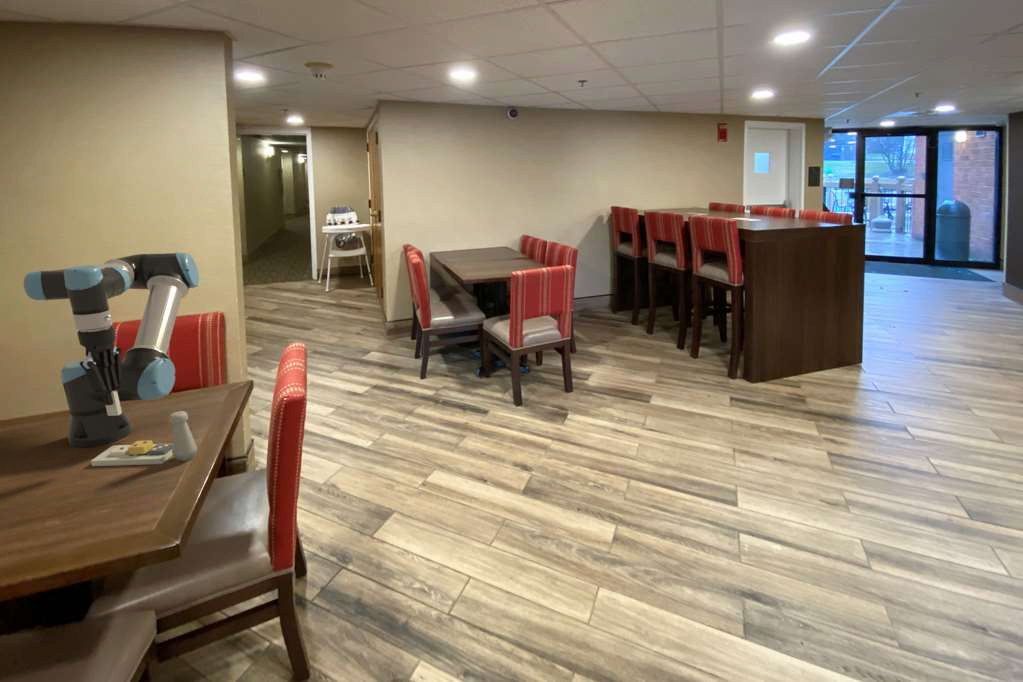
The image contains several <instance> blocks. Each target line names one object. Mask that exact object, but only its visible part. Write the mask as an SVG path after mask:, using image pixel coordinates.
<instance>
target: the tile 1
mask: <svg viewBox="0 0 1023 682" xmlns="http://www.w3.org/2000/svg"><path fill="white" fill-rule="evenodd" d="M120 445H121V446H118V447H116V448H115V449H114V450H112V451H111V452H110V456H111V457H113V456H127V455H128V454H129V449H128V447H130V446H131V445H132V444H120Z"/></svg>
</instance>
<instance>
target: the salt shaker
mask: <svg viewBox="0 0 1023 682" xmlns="http://www.w3.org/2000/svg"><path fill="white" fill-rule="evenodd" d="M168 420H169V423H170V424H172V442H171V444H172V453H173V455H172V456H173V457H174V458H175V459H176V461H177V462H188V461H191V460H192V459H194V458H195V457H196V454H197V450H198V447H197V444H196V441H195V439H194V437H193V434H192V432H191V429H190V427H189V424H188V420H189V415H188V413H187V412H186V411H183V410H180V411H174V412H172V413H170V414H169V416H168Z"/></svg>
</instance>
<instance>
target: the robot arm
mask: <svg viewBox="0 0 1023 682" xmlns="http://www.w3.org/2000/svg"><path fill="white" fill-rule="evenodd" d="M199 277H200V276H199V270H198V266H197V264H196V261H195V259H194V258H193V256H192V255H190V254H189V253H188V252H187V253H186V252H178V251H177V252H173V253H171V252H169V253H140V254H132V255H128V256H122V257H117V258H113V259H109V260H106V261H105V262H104V263H99V264H94V265H93V264H92V265H79V266H73V267H68V268H62V269H55V270H54V269H53V270H39V271H31V272H28V273H27V274H26V275H25V276H24V278H23V287H24V288H23V289H24V292H25V294H26V295H27V296H28V297H29V298H30V299H32V300H34V301H53V300H54V301H55V300H69V304H70V307H71V311H72V316H73V317H72V318H73V321H74V326H75V329H76V330H78V331H77V337H78V341H79V344H80V346H82V347H84V348H85V358H82V359H79V360H76V361H74V362H70V363H68V364H66V365H65V366H63V368H61V371H60V376H61V384H62V387H63V391H64V394H65V397H66V401H67V405H68V410H69V413H70V421H69V426H68V428H69V429H68V433H67V438H68V443H69V445H71V446H72V447H77V448H88V447H89V448H90V447H95V446H100V445H105V444H110V443H112V442H115V441H118V440H121V439H123V438H125V437H126V436H128V435H129V434H131V432H132V431H133V425H132V421H131V420H130V419H129V417H128V416H127V414H126V413H125V411H124V410H123V408H122V407H121V403H120V402H122V403H123V402H134V401H151V400H159V399H162V398H165V397H166V396H168V395H169V394H170V393H171V391H172V389H173V387H174V385H175V381H176V375H175V374H176V368H175V365H174V362H173V361H172V360H171V358H170V357H169V355H168V354H167V353H168V349H169V346H170V343H171V342H170V341H171V338H172V334H173V332H174V331H173V330H174V327H175V324H176V318H177V315H178V312H179V307H180V302H181V300H182V299H184V298H186V297H187V295H188V294H189V289H190V288H191V289H194V288H197V287H198V286H199V279H200V278H199ZM128 290H148V291H149V294H148V297H147V301H146V305H145V307H144V311H143V315H142V317H141V321H140V325H139V328H138V330H137V331H138V332H137V335H136V338H135V340H134V343H133V344H134V345H133V347H131V348H129V349H128V350H126V351H125V352H124V356H123V359H122V351H123V349H122V347H117V346H115V345H114V342H115V341H116V340H117V337H116V333H115V329H114V326H112V325H113V320H112V316H111V312H110V305H109V302H108V300H109V299H111V298H114V297H119V296H120V295H122V294H124V293H125V292H127V291H128Z"/></svg>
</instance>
